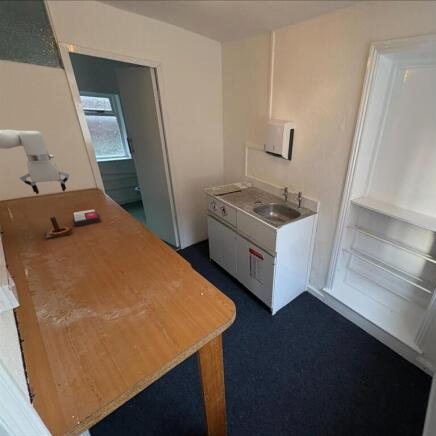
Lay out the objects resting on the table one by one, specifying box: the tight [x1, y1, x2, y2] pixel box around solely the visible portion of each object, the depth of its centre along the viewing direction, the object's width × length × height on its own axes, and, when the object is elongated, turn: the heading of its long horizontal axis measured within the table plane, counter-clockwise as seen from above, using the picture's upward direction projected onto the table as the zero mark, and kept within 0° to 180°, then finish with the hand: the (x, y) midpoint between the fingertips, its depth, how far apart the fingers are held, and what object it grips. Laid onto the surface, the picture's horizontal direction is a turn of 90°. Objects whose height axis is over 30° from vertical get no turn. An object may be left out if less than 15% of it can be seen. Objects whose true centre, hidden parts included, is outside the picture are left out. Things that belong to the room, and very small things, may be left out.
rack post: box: [45, 215, 71, 240], centre depth 123 cm, size 9×9×10 cm
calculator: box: [72, 208, 100, 227], centre depth 141 cm, size 11×4×15 cm
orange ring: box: [48, 226, 71, 235], centre depth 125 cm, size 8×8×1 cm
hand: (51, 192), depth 118 cm, fingers open, 9 cm apart
